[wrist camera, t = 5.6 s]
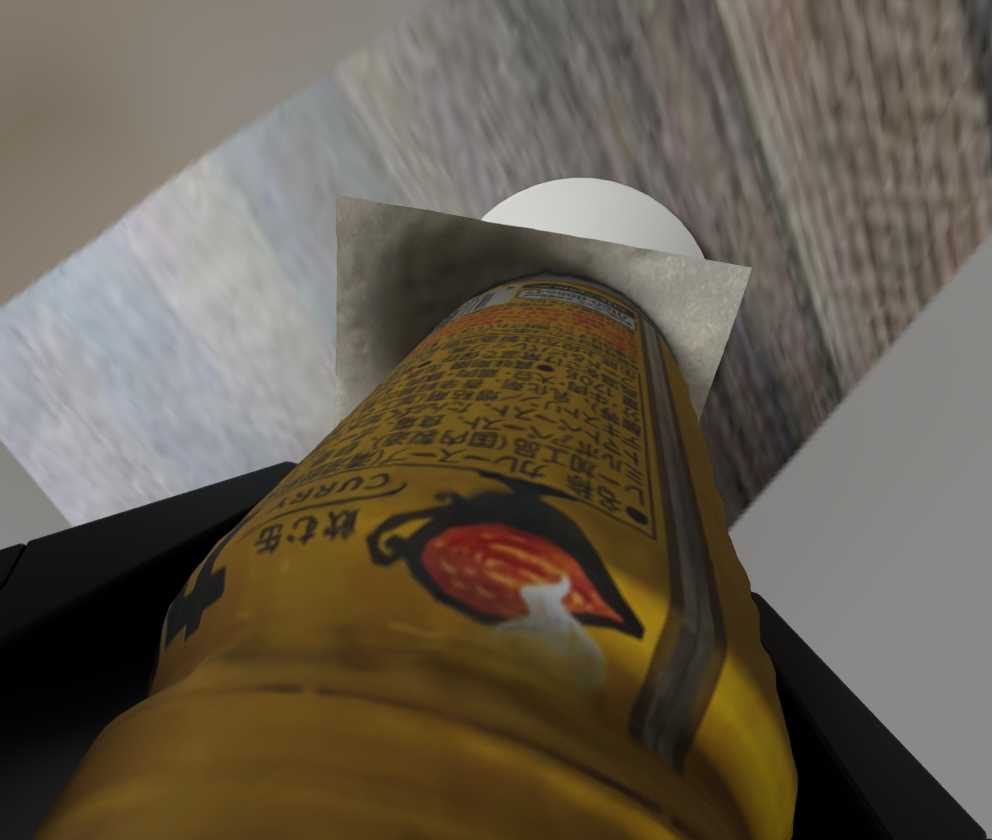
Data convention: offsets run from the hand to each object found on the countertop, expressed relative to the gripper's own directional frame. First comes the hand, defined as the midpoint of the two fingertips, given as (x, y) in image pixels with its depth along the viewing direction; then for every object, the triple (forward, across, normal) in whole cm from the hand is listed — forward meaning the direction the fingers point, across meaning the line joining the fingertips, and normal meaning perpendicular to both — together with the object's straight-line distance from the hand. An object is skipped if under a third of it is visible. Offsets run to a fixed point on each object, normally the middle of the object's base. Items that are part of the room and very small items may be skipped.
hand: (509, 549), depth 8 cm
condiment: (+6, +1, 0) cm, 6 cm away
